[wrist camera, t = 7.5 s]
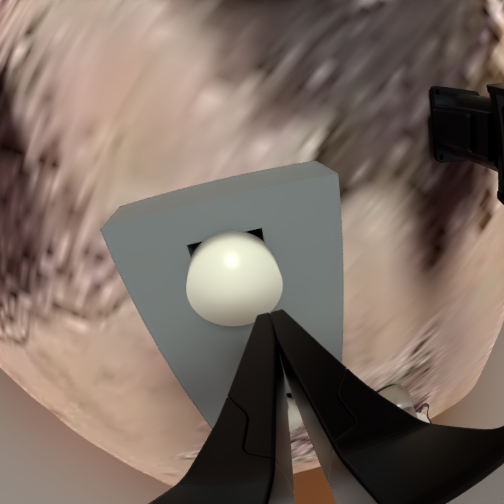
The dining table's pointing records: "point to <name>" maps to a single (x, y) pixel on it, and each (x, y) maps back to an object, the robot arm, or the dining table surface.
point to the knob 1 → (233, 279)
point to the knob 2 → (293, 415)
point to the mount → (221, 220)
